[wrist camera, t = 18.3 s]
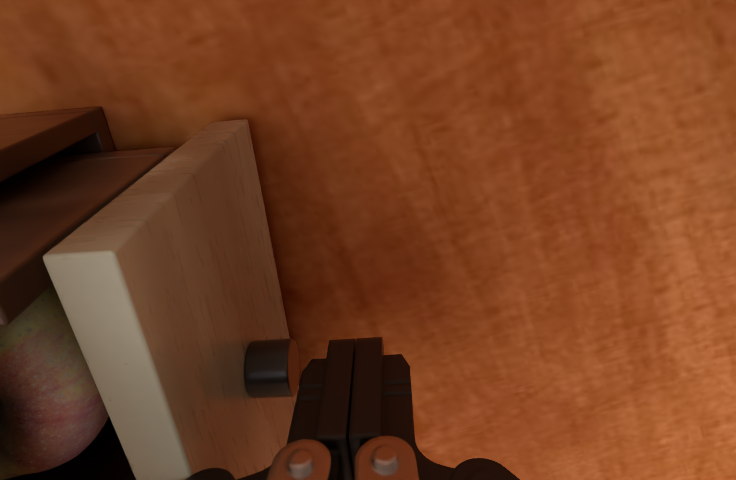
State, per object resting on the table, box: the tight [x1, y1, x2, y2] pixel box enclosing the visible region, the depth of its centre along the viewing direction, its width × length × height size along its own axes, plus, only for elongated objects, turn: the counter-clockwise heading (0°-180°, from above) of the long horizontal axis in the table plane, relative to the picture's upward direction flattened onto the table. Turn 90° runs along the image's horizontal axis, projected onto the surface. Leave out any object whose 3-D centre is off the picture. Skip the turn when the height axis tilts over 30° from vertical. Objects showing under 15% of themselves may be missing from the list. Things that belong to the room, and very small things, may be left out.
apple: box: [0, 285, 109, 480], centre depth 15 cm, size 6×8×6 cm
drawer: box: [0, 119, 300, 480], centre depth 15 cm, size 15×12×9 cm
